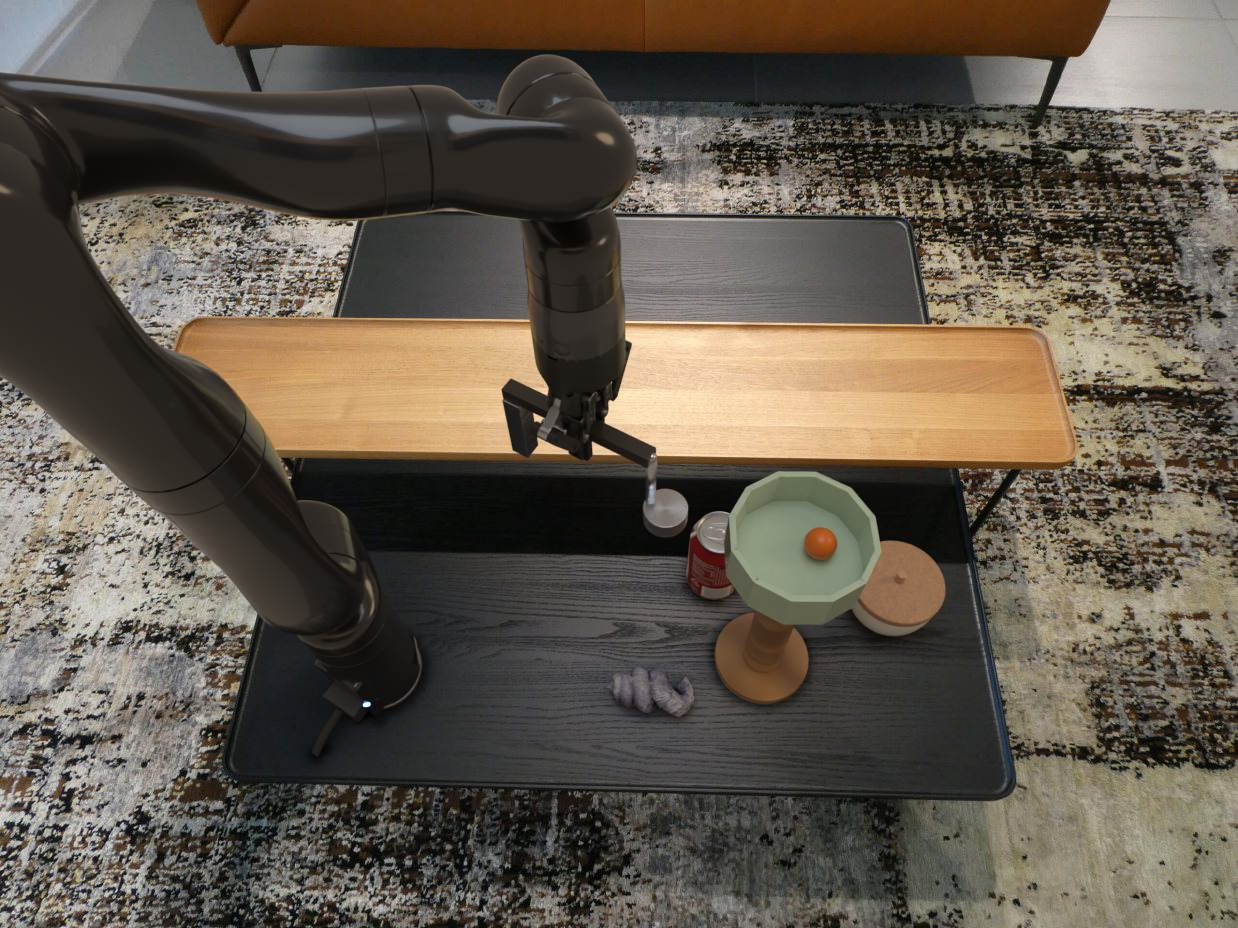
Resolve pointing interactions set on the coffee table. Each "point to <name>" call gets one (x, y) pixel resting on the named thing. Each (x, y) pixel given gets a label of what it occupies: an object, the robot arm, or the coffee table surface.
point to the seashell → (652, 691)
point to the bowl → (799, 547)
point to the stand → (761, 658)
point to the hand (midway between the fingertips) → (587, 446)
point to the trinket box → (900, 591)
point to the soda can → (709, 557)
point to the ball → (820, 543)
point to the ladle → (661, 506)
